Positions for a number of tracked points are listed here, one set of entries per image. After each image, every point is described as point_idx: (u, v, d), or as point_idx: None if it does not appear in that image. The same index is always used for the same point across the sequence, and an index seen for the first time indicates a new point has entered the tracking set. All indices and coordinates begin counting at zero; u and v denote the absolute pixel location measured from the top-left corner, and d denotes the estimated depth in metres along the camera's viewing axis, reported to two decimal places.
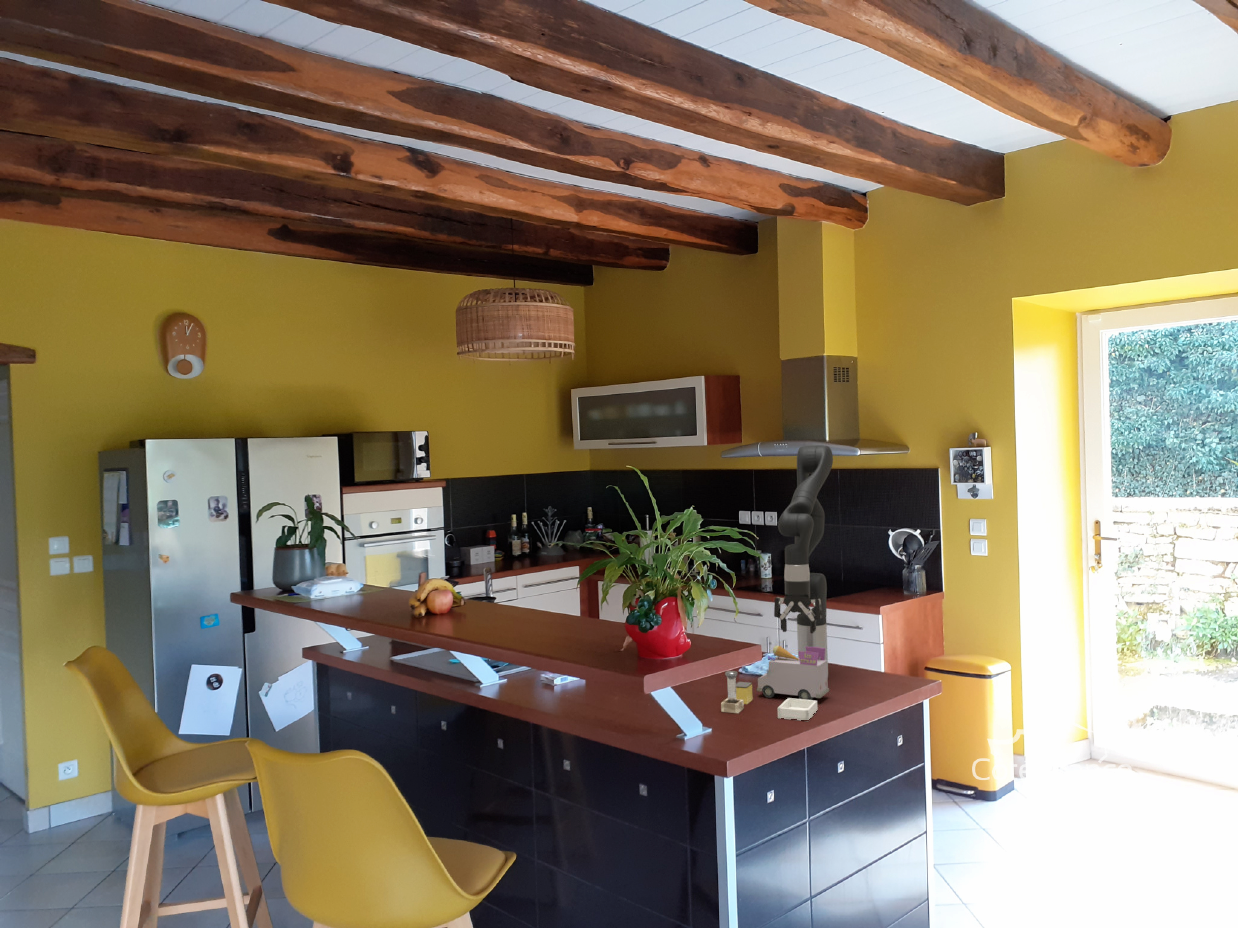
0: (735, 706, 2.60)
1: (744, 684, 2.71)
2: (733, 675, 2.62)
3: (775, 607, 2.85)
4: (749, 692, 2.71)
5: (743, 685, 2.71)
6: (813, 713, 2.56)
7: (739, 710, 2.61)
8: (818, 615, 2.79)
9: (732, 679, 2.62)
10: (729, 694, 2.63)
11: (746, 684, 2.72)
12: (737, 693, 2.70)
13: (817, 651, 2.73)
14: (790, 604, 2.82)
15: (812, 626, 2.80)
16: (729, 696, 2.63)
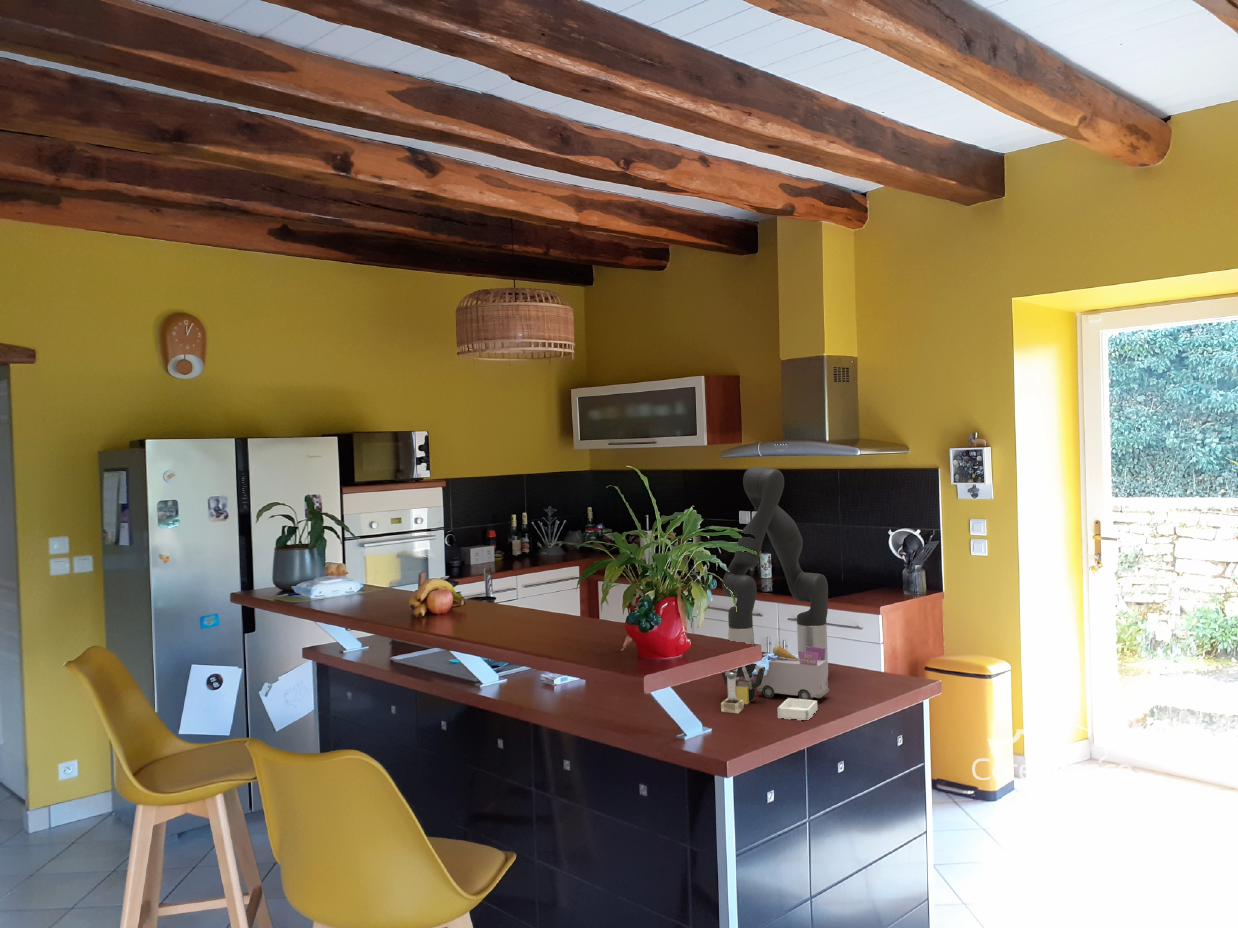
0: (735, 706, 2.60)
1: (744, 684, 2.71)
2: (733, 675, 2.62)
3: (723, 675, 2.73)
4: None
5: (743, 685, 2.71)
6: (813, 713, 2.56)
7: (739, 710, 2.61)
8: (756, 683, 2.69)
9: (732, 679, 2.62)
10: (729, 694, 2.63)
11: (746, 684, 2.72)
12: (737, 693, 2.70)
13: (817, 651, 2.73)
14: None
15: (750, 694, 2.70)
16: (729, 696, 2.63)
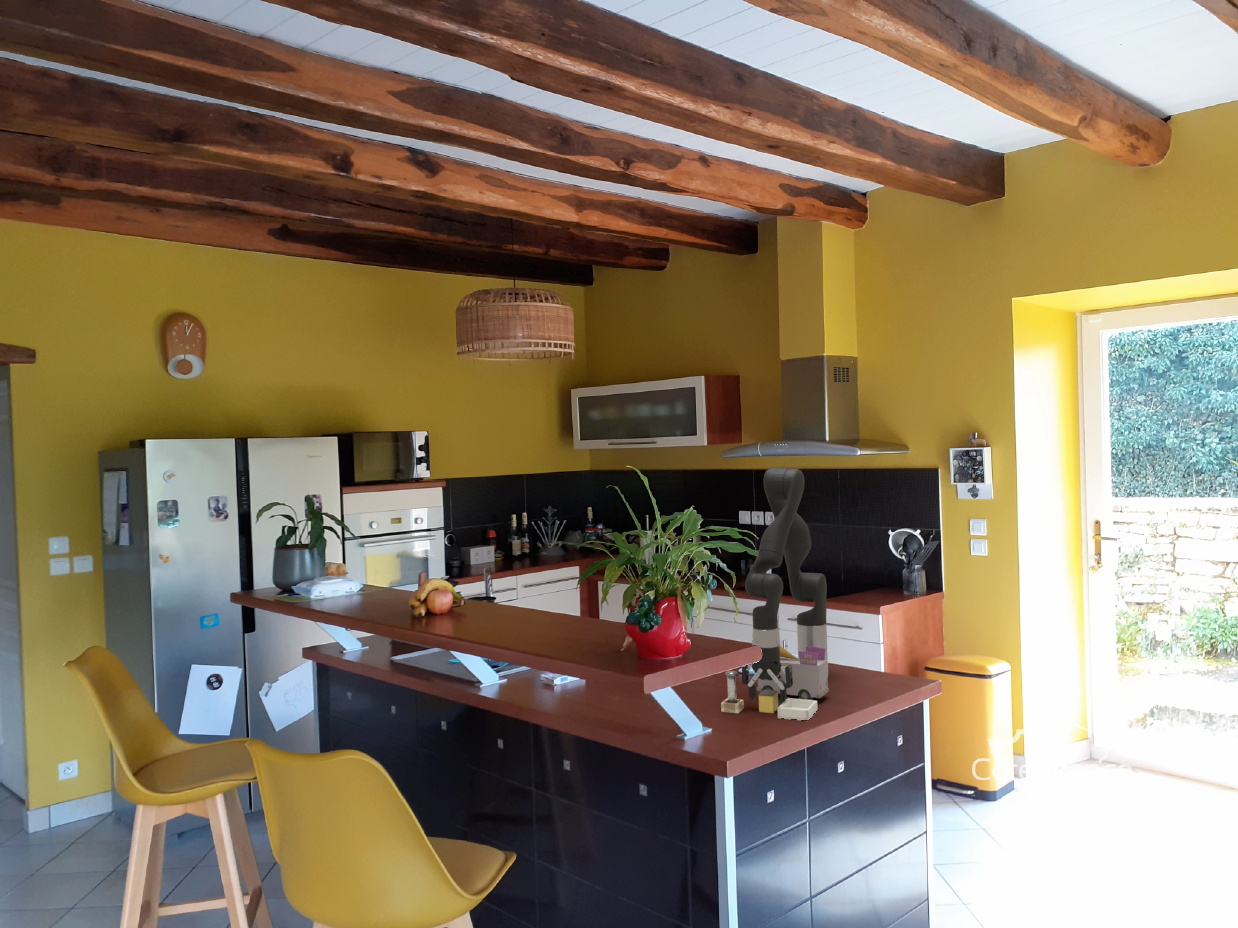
0: (735, 706, 2.60)
1: (770, 693, 2.62)
2: (733, 675, 2.62)
3: (743, 673, 2.64)
4: (775, 700, 2.61)
5: (769, 693, 2.61)
6: (813, 713, 2.56)
7: (739, 710, 2.61)
8: (788, 684, 2.58)
9: (732, 679, 2.62)
10: (729, 694, 2.63)
11: (772, 692, 2.62)
12: (762, 701, 2.61)
13: (817, 651, 2.73)
14: (758, 671, 2.61)
15: (782, 695, 2.60)
16: (729, 696, 2.63)
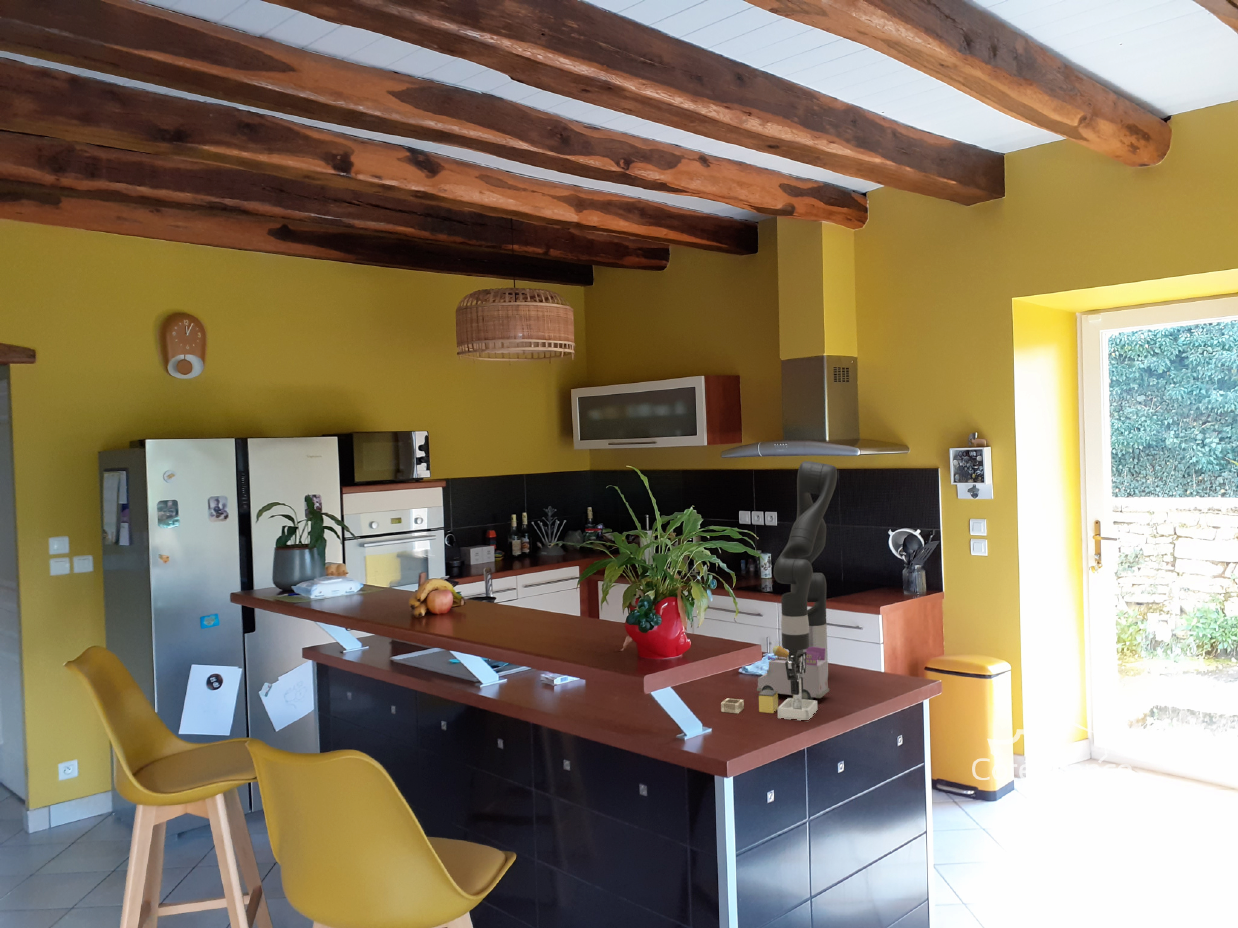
0: (735, 706, 2.60)
1: (770, 693, 2.62)
2: (799, 676, 2.55)
3: None
4: (775, 700, 2.61)
5: (769, 693, 2.61)
6: (813, 713, 2.56)
7: (739, 710, 2.61)
8: None
9: None
10: (794, 696, 2.56)
11: (772, 692, 2.62)
12: (762, 701, 2.61)
13: (817, 651, 2.73)
14: None
15: (791, 686, 2.55)
16: (795, 698, 2.56)
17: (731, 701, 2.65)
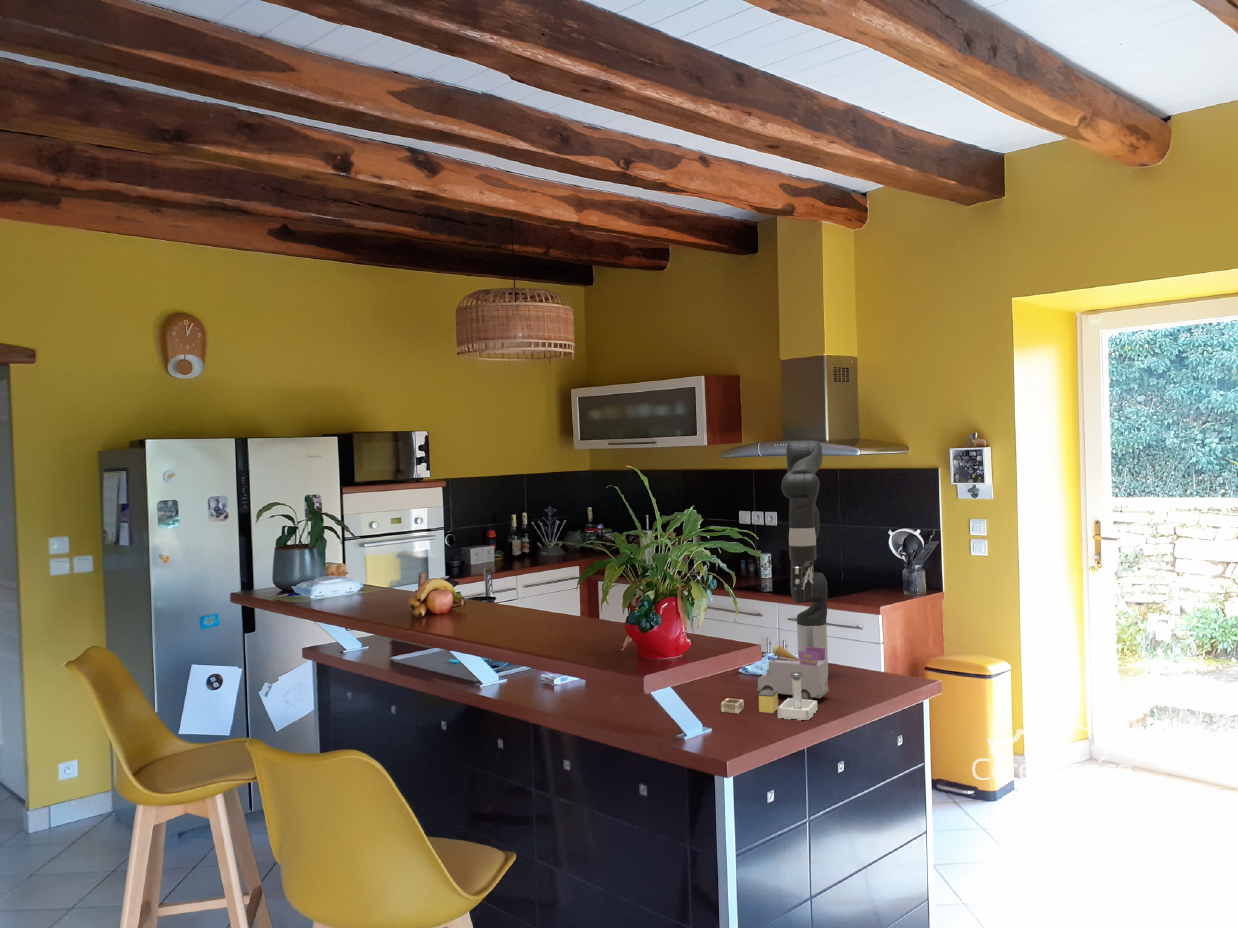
0: (735, 706, 2.60)
1: (770, 693, 2.62)
2: (798, 676, 2.55)
3: None
4: (775, 700, 2.61)
5: (769, 693, 2.61)
6: (813, 713, 2.56)
7: (739, 710, 2.61)
8: (793, 584, 2.60)
9: (797, 680, 2.56)
10: (794, 695, 2.56)
11: (772, 692, 2.62)
12: (762, 702, 2.60)
13: (817, 651, 2.73)
14: None
15: (796, 595, 2.62)
16: (794, 697, 2.56)
17: (731, 701, 2.65)
